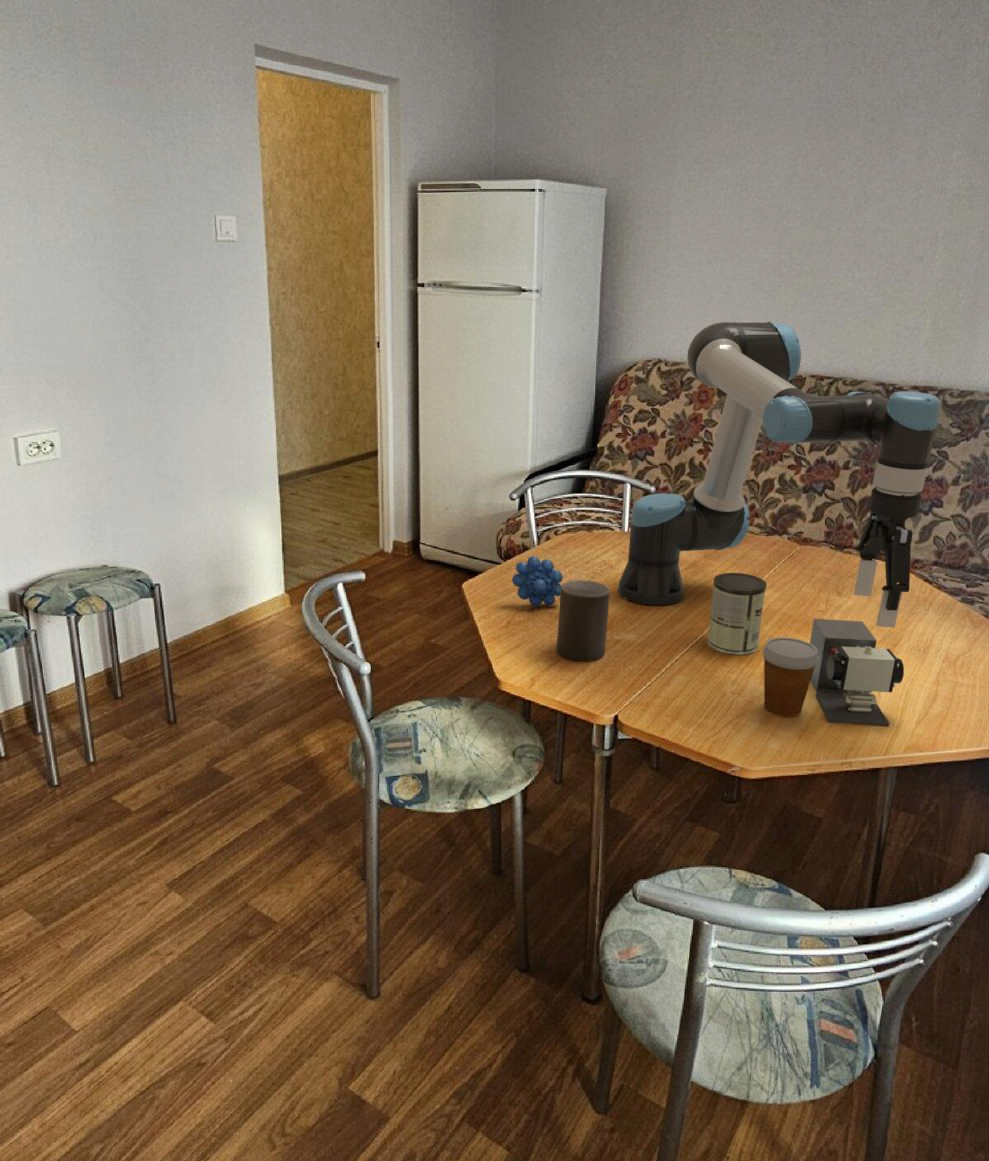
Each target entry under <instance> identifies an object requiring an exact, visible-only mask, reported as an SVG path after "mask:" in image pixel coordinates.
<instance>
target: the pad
mask: <svg viewBox="0 0 989 1161" xmlns="http://www.w3.org/2000/svg"><path fill="white" fill-rule="evenodd" d="M842 695H843V694H839V693H823V692H816V693H815V697H816V699H817V701H818V703H819V706H820V707H821V709H822V711H823V713H824V715H825V718H827V721H828V723H835V724H848V725H849V724H851V725H863V726H864V725H865V726H867V725H868V726H880V727H889V725H890V722H889V721H888V719H887V717H886V716H885V714H884V713H883V711H882V710H881V708H880V707H879V705H878V703H877V702H876V706H875V707H874V708H871V710H872V711H871V712H870V713H859V712H850V711H849V710H848V708H849V707H846V706H844V705H843V704H842Z"/></svg>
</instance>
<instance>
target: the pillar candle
mask: <svg viewBox="0 0 989 1161" xmlns="http://www.w3.org/2000/svg"><path fill="white" fill-rule="evenodd" d="M610 591H611V589H610V587H609V586H607V585H606V584H603V583H600V582H598V581H593V580H584V579H581V580H576V579H575V580H570V581H566V582H564V583H562V584H561V595H560V596H559V611H558V625H557V626H558V627H557V635H556V636H557V639H556V651H557V654H559V656H561V657H562V658H565V659H567V660H571V661H574V662H575V661H576V662H581V661H586V662H592V661H591V660H594V661H596V659H598V660H600V659H602V658H603V657H604V656H605V652H606V641H607V630H608V617H609V607H610V606H609V603H610V593H611V592H610ZM603 655H604V656H603ZM602 656H603V657H602ZM601 657H602V658H601Z"/></svg>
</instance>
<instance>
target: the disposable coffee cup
mask: <svg viewBox="0 0 989 1161" xmlns="http://www.w3.org/2000/svg"><path fill="white" fill-rule="evenodd" d="M761 653H762V656H763V660H764V663H763V666H764V670H763V672H764V673H763V674H764V676H763V677H764V681H763V682H764V685H763V686H764V688H763V690H764V691H763V692H764V694H763V696H764V697H763V698H764V700H763V703H764V705H763V706H764V709H765V710H766V711H767V712H768V713H770V714H773V716H778V717H783V718H794V717H797V716H800V715H801V713H802V710H803V705H804V703H805V700H806V697H807V694H808V690H809V686H810V684H811V677H812V674H813V671H814V668H815V666H816V665H817V663H818V661H819V655H818V651H817V648H816V647H815V646H813V645H812V644H810V642H808V641H806V640H802V639H799V638H794V637H793V638H792V637H774V638H770V639H769V640H767V641H766V643H765V644H764V647H763V648H762V651H761Z"/></svg>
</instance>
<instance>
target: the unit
mask: <svg viewBox="0 0 989 1161" xmlns="http://www.w3.org/2000/svg"><path fill="white" fill-rule="evenodd" d="M809 643H810V644H812V645H813V646H815V647H816V648H817V651H818V655H819V661H818V663H817V665H816V666H815V668H814V671H813V674H812V677H811V681H810V684H812V687H813V689H814V690H815V692H816V693H829V694H844V693H848V692H847V691H846V690H840V689H839V687H838V686H837V684H836V683H835V681H834V680H830V679H829V678H828V675H827V661H828V658H829V656H830V655H835V652H837V648H838V646H841V647H856V646H859V647H861V648H864V647H865V646H868V648H869V647H871V648H876V645H877V639H876V638H875V636H874V635H873V633H871V631H870V629H869V628H868V626H866V624H865V623H864V622H863V621H862V620H861V621H857V620H843V619H826V618H813V622H812V627H811V633H810V641H809Z"/></svg>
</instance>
